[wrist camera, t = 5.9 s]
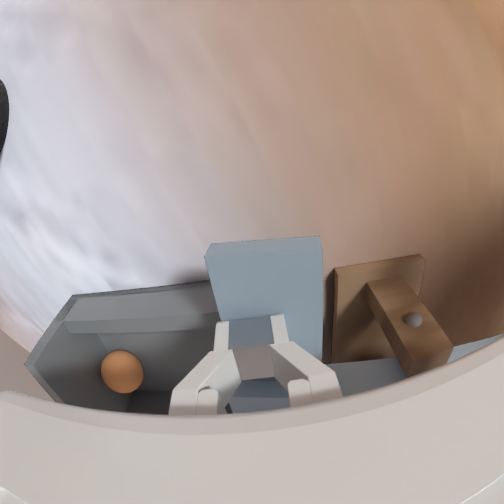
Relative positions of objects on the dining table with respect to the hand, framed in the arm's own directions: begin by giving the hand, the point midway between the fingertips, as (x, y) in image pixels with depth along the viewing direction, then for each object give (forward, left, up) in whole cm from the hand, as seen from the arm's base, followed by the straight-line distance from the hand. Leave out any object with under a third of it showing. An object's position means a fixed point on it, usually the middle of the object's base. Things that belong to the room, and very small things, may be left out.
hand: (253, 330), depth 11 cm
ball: (+10, +6, -3) cm, 13 cm away
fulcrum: (-8, +6, -6) cm, 11 cm away
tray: (+7, +6, -6) cm, 11 cm away
